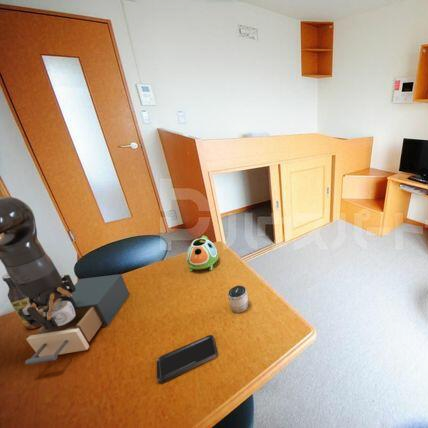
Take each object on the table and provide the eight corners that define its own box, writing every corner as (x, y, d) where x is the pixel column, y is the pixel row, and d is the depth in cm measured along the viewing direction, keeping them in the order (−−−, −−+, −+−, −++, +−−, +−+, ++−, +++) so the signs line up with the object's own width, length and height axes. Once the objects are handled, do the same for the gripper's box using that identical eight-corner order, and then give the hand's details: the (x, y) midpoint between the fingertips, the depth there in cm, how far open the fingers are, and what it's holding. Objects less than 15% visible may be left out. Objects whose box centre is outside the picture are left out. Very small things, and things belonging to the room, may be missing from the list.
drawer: (73, 369, 65) (60, 350, 61) (22, 378, 62) (5, 359, 59) (112, 313, 82) (103, 296, 78) (72, 319, 79) (62, 302, 76)
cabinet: (108, 325, 78) (97, 304, 74) (62, 332, 76) (48, 310, 72) (129, 293, 91) (121, 274, 87) (91, 299, 89) (80, 278, 85)
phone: (156, 357, 68) (212, 333, 75) (157, 360, 68) (213, 336, 75) (156, 383, 62) (217, 354, 69) (158, 385, 62) (218, 356, 69)
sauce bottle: (25, 333, 75) (-11, 285, 67) (28, 321, 79) (-5, 273, 71) (54, 322, 79) (24, 275, 71) (56, 311, 83) (27, 265, 75)
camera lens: (250, 300, 89) (248, 283, 86) (246, 313, 84) (243, 296, 80) (233, 300, 89) (230, 284, 86) (228, 313, 83) (224, 296, 80)
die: (75, 310, 73) (68, 297, 71) (75, 320, 69) (68, 307, 67) (52, 319, 70) (44, 306, 67) (50, 330, 66) (42, 317, 64)
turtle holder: (221, 249, 120) (217, 228, 115) (216, 271, 104) (211, 248, 99) (194, 252, 117) (189, 231, 112) (185, 275, 101) (179, 252, 96)
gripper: (39, 258, 68) (65, 301, 75) (-12, 294, 55) (25, 342, 62) (70, 255, 69) (93, 297, 76) (28, 289, 57) (59, 337, 64)
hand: (62, 317), depth 69 cm, fingers closed on die, 6 cm apart
